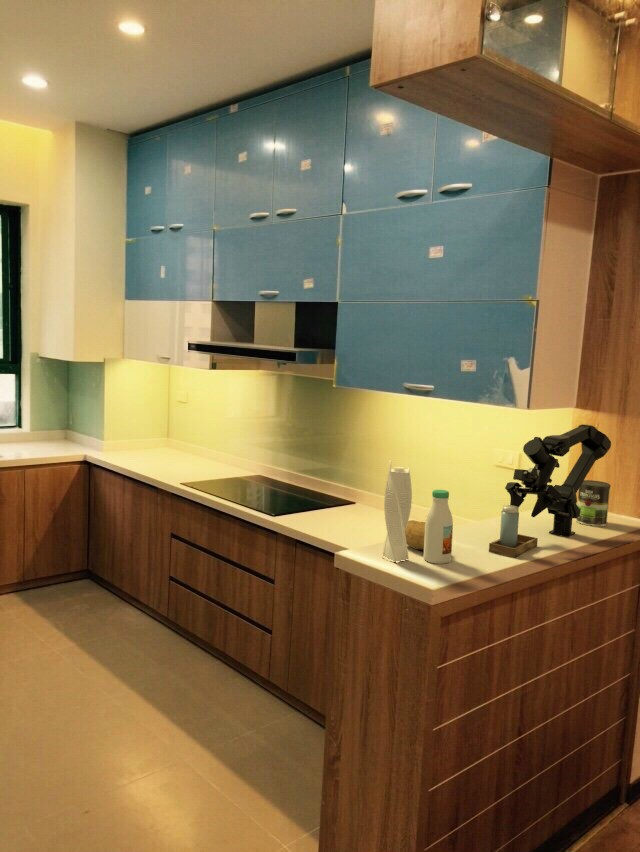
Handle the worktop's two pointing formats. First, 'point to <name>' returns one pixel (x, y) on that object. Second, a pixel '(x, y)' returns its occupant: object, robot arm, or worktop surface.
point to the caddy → (522, 546)
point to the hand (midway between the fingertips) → (521, 515)
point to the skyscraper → (397, 512)
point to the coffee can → (593, 503)
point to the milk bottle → (438, 529)
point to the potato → (415, 534)
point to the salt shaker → (509, 526)
